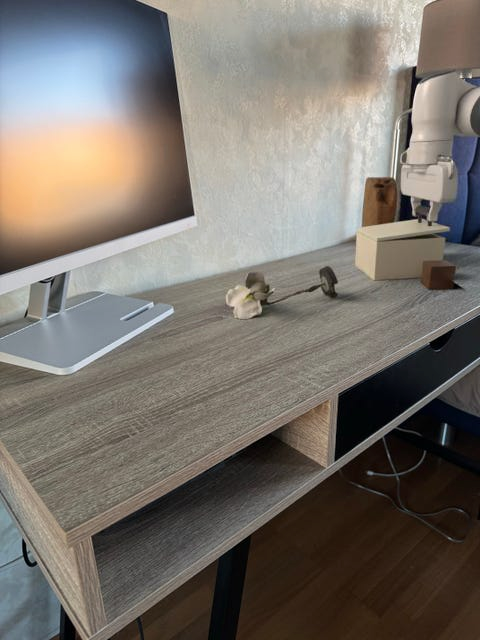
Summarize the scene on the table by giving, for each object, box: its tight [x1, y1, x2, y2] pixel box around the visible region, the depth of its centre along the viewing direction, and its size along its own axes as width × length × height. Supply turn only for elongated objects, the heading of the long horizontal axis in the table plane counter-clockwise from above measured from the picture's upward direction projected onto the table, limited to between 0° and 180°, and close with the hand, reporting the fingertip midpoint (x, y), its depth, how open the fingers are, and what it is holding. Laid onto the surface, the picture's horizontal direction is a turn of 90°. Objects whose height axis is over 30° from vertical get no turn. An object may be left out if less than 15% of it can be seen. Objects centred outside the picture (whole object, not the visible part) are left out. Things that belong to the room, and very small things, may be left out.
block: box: [361, 176, 398, 227], centre depth 129 cm, size 11×8×20 cm
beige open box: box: [354, 230, 446, 281], centre depth 106 cm, size 16×14×9 cm
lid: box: [356, 204, 451, 242], centre depth 103 cm, size 16×14×5 cm
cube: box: [420, 259, 457, 291], centre depth 94 cm, size 5×5×5 cm
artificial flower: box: [225, 265, 340, 320], centre depth 86 cm, size 9×22×10 cm, turn 107°
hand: (424, 218), depth 103 cm, fingers closed on lid, 6 cm apart
